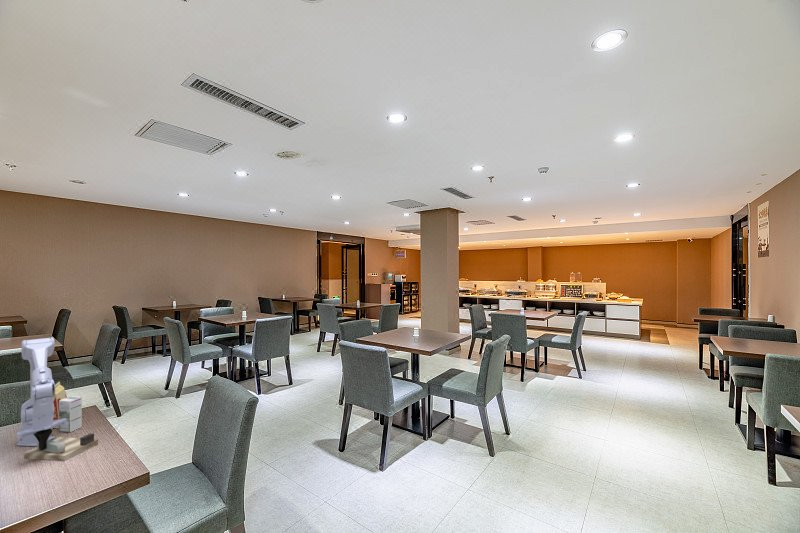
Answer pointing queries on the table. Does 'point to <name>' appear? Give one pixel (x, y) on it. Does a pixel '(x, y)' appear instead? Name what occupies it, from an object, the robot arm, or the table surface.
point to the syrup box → (70, 413)
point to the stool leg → (53, 446)
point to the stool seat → (71, 448)
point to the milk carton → (58, 396)
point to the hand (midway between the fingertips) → (42, 449)
